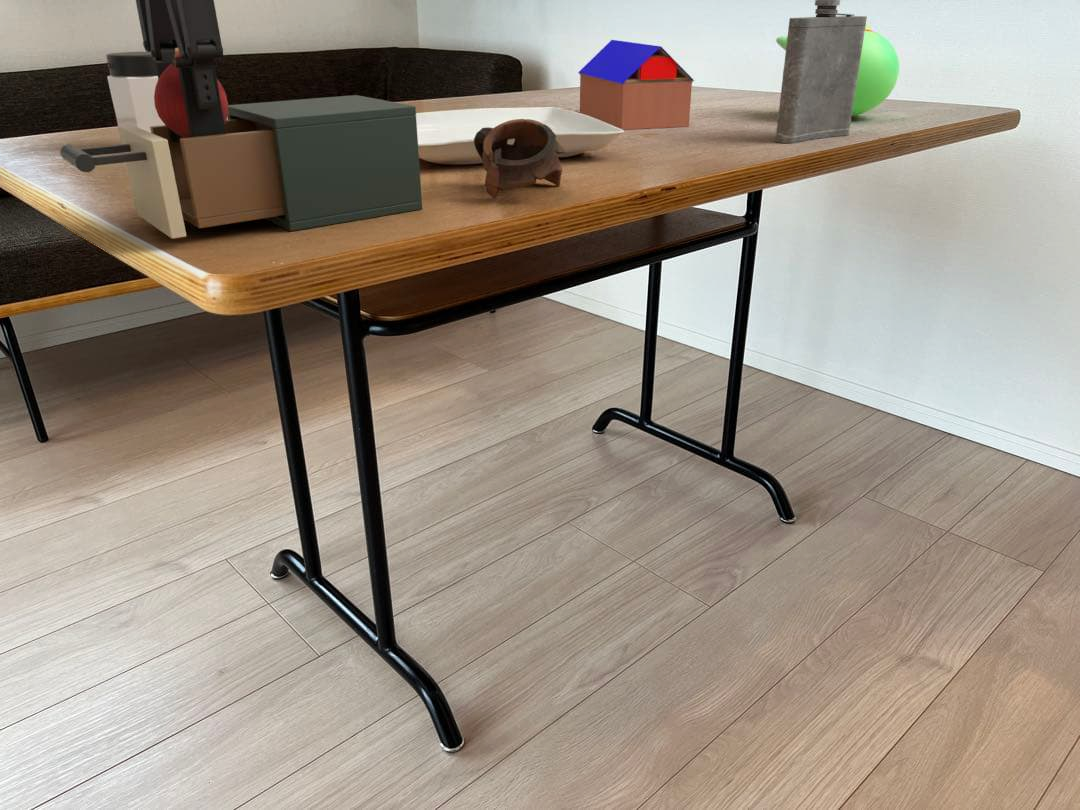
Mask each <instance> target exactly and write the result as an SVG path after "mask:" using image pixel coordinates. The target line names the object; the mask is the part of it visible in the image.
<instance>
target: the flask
mask: <svg viewBox="0 0 1080 810" xmlns="http://www.w3.org/2000/svg"><path fill="white" fill-rule="evenodd" d="M840 4H841V0H815V1H814V6H816V8H815V11H814V14H815V16H805V17H789V21H788V30H787V36H786V37H787V46H786V51H785V54H784V64H783V70H784V71H782V82H781V90H780V98H779V107H778V114H777V115H778V116H777V124H776V133H775V140H774V141H775V142H776V143H779V144H795V143H799V142H805V141H810V140H816V139H823V138H825V139H826V138H833V137H843V136H845V137H846V136H849V135H850V130H851V123H852V117H853V116H852V111H853V104H854V98H855V91H856V85H857V78H858V72H859V65H860V58H861V52H862V45H863V39H864V32H865V26H866V25H867V19H868V16H867V15H865V16H864V15H855V14H853V13H838V11H839V10H838V6H840Z"/></svg>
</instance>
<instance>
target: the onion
mask: <svg viewBox="0 0 1080 810" xmlns="http://www.w3.org/2000/svg"><path fill="white" fill-rule="evenodd" d="M175 57H180V53H179V50H178V48H175ZM217 82H218V88H219V94H220V100H221V106H222V112H223V118H224V124H225V122H226V120H228V117H227V116H228V105H229V102H228V98H227V93H226V91H225V89H224V87H223V85H222V83H221V82H220V80H219V79H218V78H217ZM154 102H155V108H156V111H157V113H158V116H159V118H160V119H161V120H162V121H163V123H164V124H165V125H166V126H167V127H168V128H170V129H171V130H172V131H173V132H175V133H176V134H177V135H179V136H180V137H181V138H189V137H191V135H190V129H189V124H188V118H187V113H186V108H185V102H184V97H183V91H182V86H181V81H180V75H179V70H178V67H176V68H175V67H174V66H173V64H172V63H171V64H170V65H169V66H168V67H167V68H166V69H165V70H164V71H163V73H162V74H161V76H160V77H159V79H158V82H157V84H156V87H155V93H154Z"/></svg>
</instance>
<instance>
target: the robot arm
mask: <svg viewBox="0 0 1080 810" xmlns="http://www.w3.org/2000/svg"><path fill="white" fill-rule="evenodd" d="M135 4H136V10H137V14H138V15H137V16H138V20H139V21H138V22H139V26H140V31H141V36H142V47H143V48H144V50H145V52H151V56H152V57H153V60H154V61H159V62H157V63H155V65H156V70H157V75H158V79H159V77H160V76H161V74H162V73H163V71H164V70H165V69H166V68H167V67H168V66H169V65H170V64H171V63H172V64H173V66H174V67H175V68H176V67H178V70H179V75H180V81H181V86H182V91H183V97H184V102H185V108H186V113H187V118H188V124H189V129H190V135H191V137H199V136H210V135H220V134H226V130H225V124H224V118H223V112H222V106H221V100H220V94H219V88H218V82H217V79H218V76H217V71H216V66H217V62H218V61H217V60H218V59H223V57H224V48H223V45H222V39H221V32H220V28H219V23H218V17H217V11H216V5H215V0H135ZM175 48H178V50H179V53H180V57H175ZM168 131H169V136H170V141H172V142H178V141H180V138H181V137H180V136H179V135H177V134H176V133H175V132H173V131H172V130H171V129H170V128H168Z"/></svg>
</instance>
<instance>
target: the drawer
mask: <svg viewBox="0 0 1080 810" xmlns="http://www.w3.org/2000/svg"><path fill="white" fill-rule="evenodd" d="M116 127H117V132H118V136H119V140H120V144H113V145H102V146H101V145H100V146H93V147H82V148H78V147H77V146H75V145H74V144H71V143H68V144H67V143H66V144H64V145H63V146H62V147H61V148H60V151H59V152H60V153H59V154H60V156H61V158H62V159H63V160H65V161H66V162H67V163H69V164H70V165H72V166H73V167H75V168H76V169H77V170H79V171H80V172H83V173H90V172H92V171H94V169H95V168H96V166H104V165H113V164H114V165H115V164H122V163H123V164H124V163H125V167H126V172H127V176H128V177H127V178H128V181H129V185H130V190H131V194H132V198H133V203H134V208H135V212H136V215H137V216H139V217H140V218H142V219H143V220H144V221H146V222H147V223H149V224H150V225H151V226H153V227H154V228H155V229H157V230H159V231H160V232H161V233H163V234H164V235H166V236H167V237H169V238H170V239H173V240H174V239H179V238H180V239H181V238H186V237H187V232H186V227H185V222H184V220H185V221H186V222H188V223H190V224H192V225H193V226H195V227H196V228H197V229H205V228H211V227H219V226H224V225H232V224H238V223H243V222H249V221H256V220H262V219H265V218H270V217H276V216H282V215H285V210H284V203H283V196H282V189H281V182H280V175H279V168H278V161H277V154H276V147H275V140H274V133H273V127H269V126H266V125H262V124H259V123H256V122H252V121H249V120H245V119H242V118H240V119H229V120H228V119H226V122H225V130H226V134H220V135H210V136H199V137H189V138H180V141H178V142H172V141H170V136H169V131H168V127H167V126H166V125H161V126H151V127H150V130H151V133H150V132H147V131H145V130H143V129H140V128H138V127H136V126H133V125H121V126H118V125H117V126H116Z"/></svg>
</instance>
